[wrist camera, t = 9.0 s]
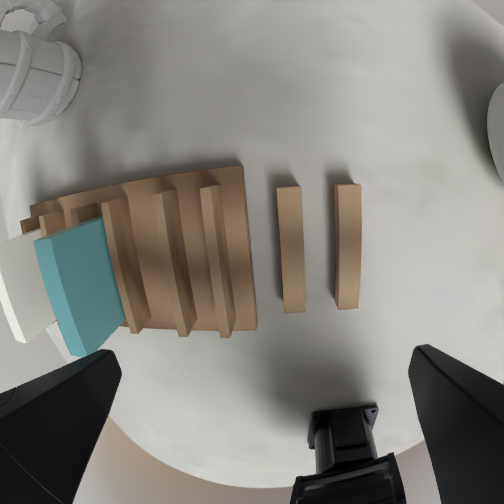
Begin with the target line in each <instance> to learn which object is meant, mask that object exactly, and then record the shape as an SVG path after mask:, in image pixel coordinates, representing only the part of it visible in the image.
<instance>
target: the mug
mask: <svg viewBox="0 0 504 504" xmlns="http://www.w3.org/2000/svg"><path fill="white" fill-rule="evenodd" d="M19 9H24V10H25V11H29V12H31V13H34V14H35V15H34V17H35V18H36V20H37V21H38V24H40V25H39V27H38V28H37V29H36V30H35V32H34V33H33V34H32V36H30V35H29V34H28V33H26V32H23V31H19V30H18V31H13V32H9V31H3V30H0V118H6V119H18V120H20V121H21V122H22V123H24V124H28V125H30V126H34V125H38V124H41V123H43V122H49V121H52V120H54V119H55V118H57V117H58V116H59V115H61V114H62V112H63V111H64V109H65V108H66V107H67V105H68V104H69V103H70V102H71V100H72V99H73V97H74V95H75V93H76V91H77V89H78V86H79V83H80V81H79V80H78V79H79V78H80V77H81V74H82V66H81V61H80V58H79V55H78V54H77V53H76V52H75V51H74V50H73V49H72V47H71V46H69V45H68V44H66V43H64V42H61V41H51V42H47V40H48V37H49V35H50V34H51V32H52V31H53V30H54V29H55V28H56V27H58V26H59V25H62V24H63V23H65V22H66V20H67V19H66V17H65V16H64V14H63V13H62V11H61V9H62V7H61V6H60V5H59V4H58V3H57V2H56V1H54V0H0V27H1V24H2V21H3V19H4V17H5V15H6V14H8V13H10V12H14V11H15V10H19Z"/></svg>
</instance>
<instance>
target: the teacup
mask: <svg viewBox="0 0 504 504" xmlns="http://www.w3.org/2000/svg"><path fill="white" fill-rule="evenodd" d="M487 130H488V139H489V145H490V150H491V154H492V157H493V160H494V163H495V166H496V169H497V172H498V174H499V176H500V178H501V180H502V182H503V184H504V82H503V83H502V84H500V85H499V86H498V87H497V88H496V90H495V91H494V93H493V95H492V97H491V99H490V102H489V107H488V115H487Z"/></svg>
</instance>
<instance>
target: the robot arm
mask: <svg viewBox="0 0 504 504" xmlns="http://www.w3.org/2000/svg"><path fill="white" fill-rule="evenodd" d="M408 375H409V379H410V384H411V388H412V392H413V396H414V401H415V406H416V410H417V415H418V419H419V422H420V425H421V428H422V431H423V435H424V438H425V441H426V445H427V448H428V451H429V455H430V458H431V462H432V466H433V470H434V473H435V477H436V481H437V486H438V490H439V494H440V499H441V504H504V385H503V384H501V383H499V382H497V381H496V380H494V379H492V378H490V377H488V376H486V375H485V374H483V373H481V372H479V371H477V370H475V369H473V368H472V367H470V366H468V365H466V364H464V363H462V362H460V361H459V360H457V359H455V358H453V357H451V356H449V355H447V354H446V353H444V352H442V351H440V350H438V349H436V348H434V347H433V346H431V345H429V344H425V345H419V346H416V347H415V348H414V350H413V354H412V358H411V361H410V365H409V369H408ZM121 376H122V371H121V368H120V366H119V363H118V361H117V358H116V356H115V354H114V352H113V351H111V350H106V349H100V350H98V351H96V352H94V353H92V354H89V355H87V356H85V357H83V358H81V359H78V360H76V361H74V362H72V363H70V364H67V365H65V366H63V367H61V368H58V369H56V370H54V371H52V372H50V373H47V374H45V375H43V376H41V377H38V378H36V379H33V380H31V381H29V382H27V383H24V384H22V385H20V386H17V388H16V387H15V388H13V389H10V390H8V391H5V392H3V393H0V504H72V503H73V501H74V498H75V495H76V492H77V490H78V487H79V484H80V482H81V479H82V477H83V474H84V472H85V469H86V467H87V464H88V462H89V459H90V457H91V454H92V452H93V450H94V447H95V445H96V442H97V440H98V438H99V435H100V433H101V431H102V429H103V426H104V424H105V422H106V419H107V417H108V415H109V412H110V409H111V406H112V403H113V400H114V397H115V394H116V391H117V388H118V386H119V383H120V380H121ZM377 413H378V406H377V405H371V406H364V407H357V408H348V409H339V410H329V411H317V412H314V413H312V415H311V427H310V438H309V448H310V449H315V457H316V474H314V475H309V476H298V477H296V480H295V484H294V486H293V491H292V496H291V501H290V504H406V497H405V492H404V487H403V483H402V479H401V476H400V472H399V469H398V466H397V463H396V459H395V456H394V453H393V452H392V453H389V454H387V455H386V456H383V457H380V458H378V456H377V451H376V447H375V442H374V438H373V434H372V429H373V426H374V423H375V420H376V417H377Z"/></svg>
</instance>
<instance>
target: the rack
mask: <svg viewBox="0 0 504 504" xmlns="http://www.w3.org/2000/svg"><path fill="white" fill-rule="evenodd" d="M30 212H31V218H28V219H25V220H22V221H20V224H21V229H22V234H24V233H27V232H29V231H32V230H35V229H38V228H41V232H42V237H45V236H47V235H50V234H52V233H55V232H57V231H60V230H63V229H65V228H68V227H71V226H73V225H76V224H79V223H82V222H85V221H87V220H90V219H93V218H96V217H99V216H102V215H103V220H104V226H105V232H106V237H107V242H108V247H109V252H110V257H111V261H112V266H113V270H114V274H115V278H116V282H117V286H118V290H119V294H120V298H121V301H122V305H123V308H124V312H125V315H126V320H125V321H124V322H123V323H122V324H121V325H120V326H123V327H129V328H130V331H131V333H132V334H139V333H140V331H141V330H142V329H143V328H152V329H173V330H177V331H178V335H179V337H188V335H189V333H190V331H191V330H209V331H220V337H221V338H230V337H231V333H232V331H249V330H256V328H257V323H258V320H257V309H256V298H255V288H254V277H253V266H252V255H251V245H250V234H249V223H248V212H247V202H246V191H245V180H244V169H243V166H233V167H224V168H215V169H207V170H199V171H192V172H185V173H178V174H171V175H165V176H159V177H153V178H147V179H141V180H136V181H131V182H125V183H120V184H115V185H111V186H106V187H101V188H97V189H92V190H88V191H84V192H80V193H75V194H71V195H67V196H64V197H60V198H56V199H52V200H49V201H45V202H41V203H38V204H34V205H31V206H30ZM55 321H56V320H55ZM55 321H54V322H55ZM54 322H53V323H54ZM53 323H52V324H53Z"/></svg>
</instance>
